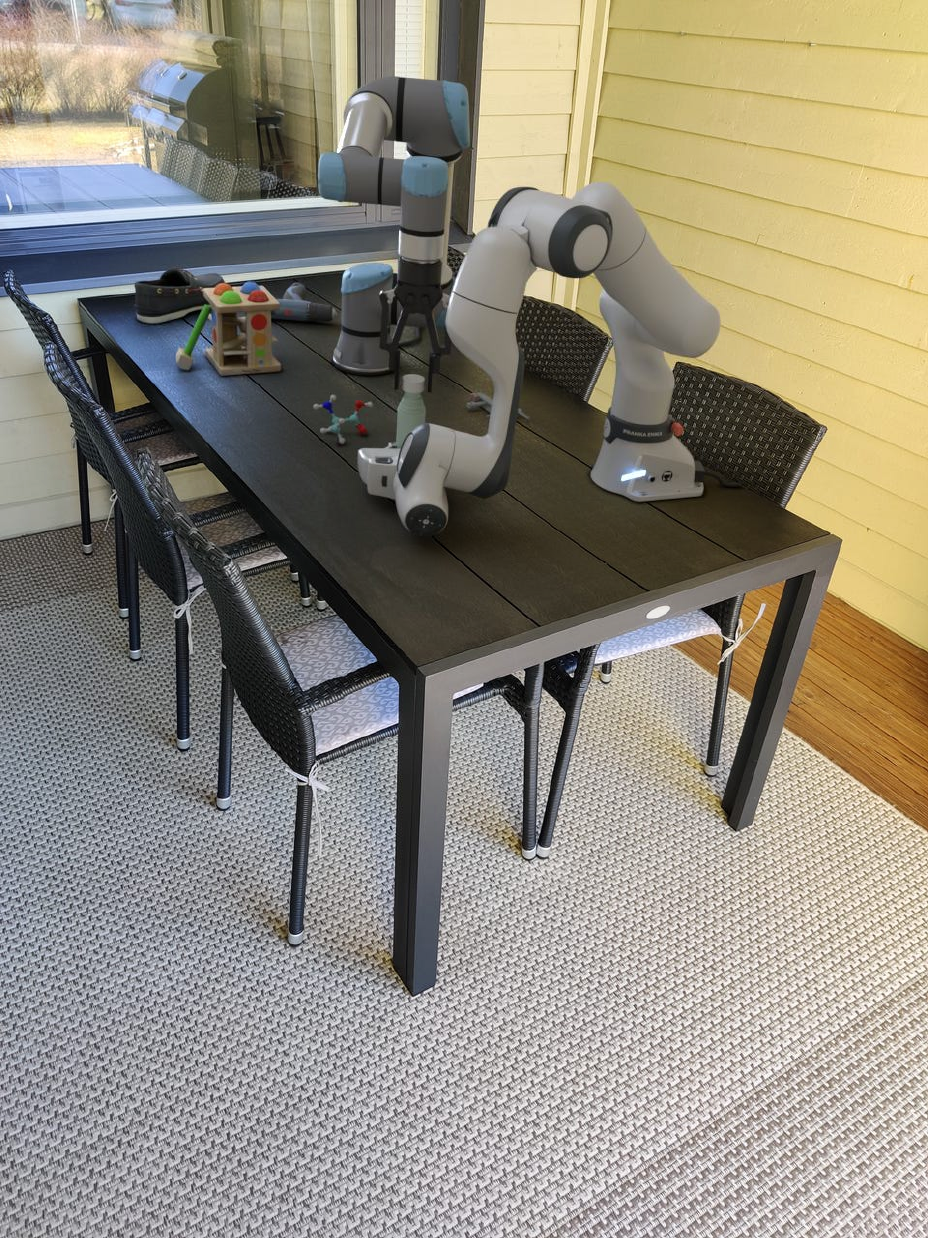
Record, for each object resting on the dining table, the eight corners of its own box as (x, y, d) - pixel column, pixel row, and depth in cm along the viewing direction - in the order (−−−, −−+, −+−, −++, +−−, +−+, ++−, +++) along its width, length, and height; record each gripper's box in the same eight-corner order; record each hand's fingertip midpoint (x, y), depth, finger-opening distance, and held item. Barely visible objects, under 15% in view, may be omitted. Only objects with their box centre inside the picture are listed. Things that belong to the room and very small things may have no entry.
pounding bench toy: (183, 379, 220) (176, 299, 210) (169, 357, 231) (162, 280, 221) (282, 371, 230) (280, 294, 220) (264, 350, 240) (262, 276, 230)
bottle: (394, 471, 192) (398, 376, 181) (420, 472, 192) (427, 377, 181) (394, 483, 187) (399, 386, 176) (421, 484, 188) (428, 388, 177)
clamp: (458, 394, 221) (496, 389, 226) (457, 403, 222) (495, 398, 227) (493, 419, 211) (531, 413, 215) (492, 429, 212) (530, 423, 216)
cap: (417, 383, 182) (417, 373, 181) (428, 391, 179) (428, 380, 178) (397, 386, 180) (398, 375, 179) (408, 394, 177) (409, 383, 176)
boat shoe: (245, 302, 271) (243, 263, 266) (154, 325, 248) (149, 283, 242) (211, 293, 277) (208, 255, 272) (119, 316, 253) (114, 274, 248)
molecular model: (360, 436, 195) (343, 387, 193) (320, 451, 198) (303, 403, 197) (383, 432, 205) (367, 385, 204) (345, 446, 209) (329, 401, 207)
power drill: (344, 304, 276) (335, 327, 259) (277, 298, 275) (264, 321, 258) (344, 285, 273) (335, 306, 256) (277, 279, 272) (264, 300, 255)
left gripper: (474, 256, 170) (462, 384, 183) (367, 247, 169) (364, 377, 182) (474, 268, 164) (463, 400, 177) (364, 258, 163) (361, 392, 176)
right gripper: (475, 463, 176) (464, 431, 187) (360, 461, 172) (356, 429, 183) (471, 495, 179) (461, 462, 190) (359, 494, 176) (355, 460, 187)
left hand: (413, 388), depth 180 cm, fingers open, 5 cm apart
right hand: (408, 446), depth 187 cm, fingers closed on bottle, 5 cm apart
